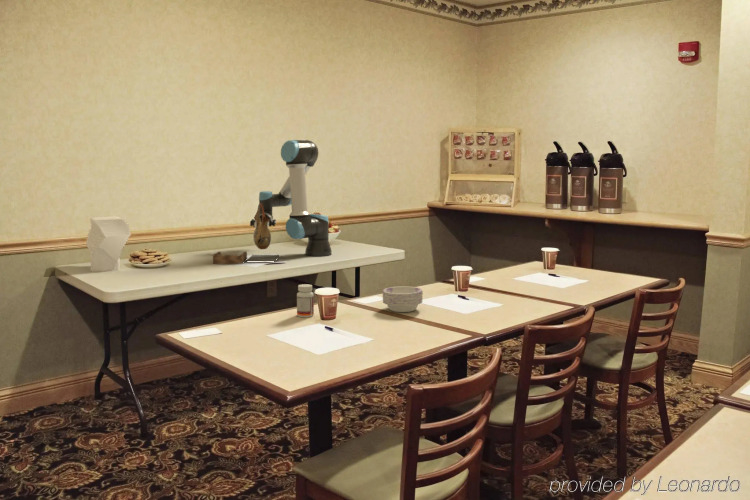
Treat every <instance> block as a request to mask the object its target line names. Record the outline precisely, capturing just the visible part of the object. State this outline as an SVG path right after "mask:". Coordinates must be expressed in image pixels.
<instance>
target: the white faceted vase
mask: <svg viewBox="0 0 750 500" xmlns="http://www.w3.org/2000/svg"><path fill="white" fill-rule="evenodd" d="M89 221H90V224H91V225H90V229H89V231H88V234H87V239H86V242H85V243H86V244H85V245H86V247H87V249H88V252H89V257H90V268H89V269H90V272H99V271H102V272H113V271H112V270H114V271H119V270H120V267H121V266H120V264H121V259H120V258H121V255H122V251H123V248H125V246H126V243H127V242H128V241H129V238H130V236H131V235H132V233H131V229H130V226H129V224H128V223H127V221H125V219H123V218H121V217H119V216H117V215H110V216H109V215H108V216H96V217H91V218H89ZM118 269H119V270H118Z"/></svg>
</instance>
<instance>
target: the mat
mask: <svg viewBox="0 0 750 500" xmlns="http://www.w3.org/2000/svg"><path fill="white" fill-rule="evenodd" d="M277 258H278V259H279V258H280V254H252V255H251V256H250V257H247V260H246V262H247V261H274V262H275V261H276V259H277ZM278 259H277V260H278ZM276 262H277V261H276ZM276 262H275V263H276Z"/></svg>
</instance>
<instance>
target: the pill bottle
mask: <svg viewBox="0 0 750 500" xmlns="http://www.w3.org/2000/svg"><path fill="white" fill-rule="evenodd" d="M297 290H298V292H297V293H296V316H298V318H310V317H313V316H314V315H315V314H314V313H315V305H314V303H315V301H314V300H315V299H314V298H315V296H314V292H312V291H313V285H312V284H307V283H306V284H305V283H304V284H303V283H302V284H298V286H297Z"/></svg>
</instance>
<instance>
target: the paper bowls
mask: <svg viewBox="0 0 750 500" xmlns="http://www.w3.org/2000/svg"><path fill="white" fill-rule="evenodd" d="M423 295H424V294H423V289H422V288H420V287H416V286H404V285H401V286H400V285H399V286H390V287H386V288H384V289H382V303H383V304H384V305H387V307H388V310H389V311H392V312H396V313H411V312H414V311H416V310H417V308H418V306H419V305H420V304H422V303H423Z"/></svg>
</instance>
